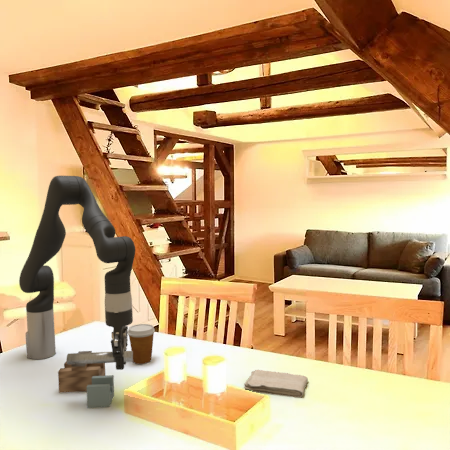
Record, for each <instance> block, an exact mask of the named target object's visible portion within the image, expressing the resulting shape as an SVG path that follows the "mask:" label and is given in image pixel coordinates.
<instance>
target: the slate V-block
mask: <svg viewBox="0 0 450 450" xmlns="http://www.w3.org/2000/svg"><path fill="white" fill-rule="evenodd" d="M114 378H115V377H114V375H113V374H112V375H105V376H93V377H92V385H87V391H86V401H87V402H86V405H87V407H86V408H87V409H97V408H98V409H99V408H110V406H111V404H112V401H113V399H114V398H115V397H114V396H115V385H114V384H115V382H114V381H115V379H114Z"/></svg>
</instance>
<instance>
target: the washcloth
mask: <svg viewBox="0 0 450 450" xmlns="http://www.w3.org/2000/svg"><path fill="white" fill-rule="evenodd" d="M308 380H309V379H308V377H307V376H305V375H301V374H294V373H293V374H292V373H288V372H287V373H286V372H279V371H269V370H262V369H254V370H253V371H251V373H250V376H249V377H248V378H247V380H246V381H245V382H244V383H243V386H244V387H243V388H245V389H244V390H246V389H249V390H253V391H252V392H254V391H256V392H255V393H261V394H270V395H277V396H285V397H292V398H302V397H303V396H304V395H305V389H306V387H307V384H308ZM249 390H248V391H249Z"/></svg>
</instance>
